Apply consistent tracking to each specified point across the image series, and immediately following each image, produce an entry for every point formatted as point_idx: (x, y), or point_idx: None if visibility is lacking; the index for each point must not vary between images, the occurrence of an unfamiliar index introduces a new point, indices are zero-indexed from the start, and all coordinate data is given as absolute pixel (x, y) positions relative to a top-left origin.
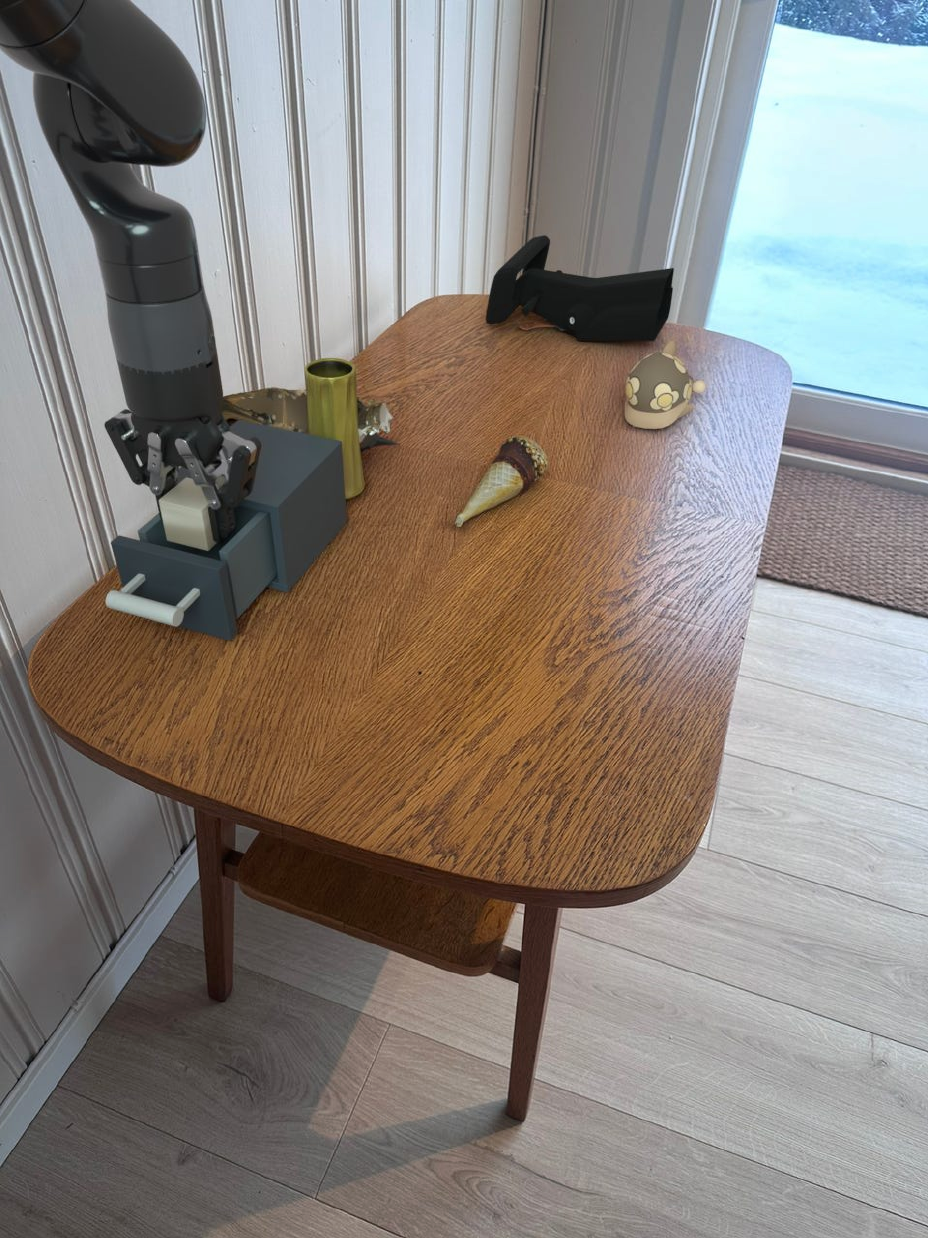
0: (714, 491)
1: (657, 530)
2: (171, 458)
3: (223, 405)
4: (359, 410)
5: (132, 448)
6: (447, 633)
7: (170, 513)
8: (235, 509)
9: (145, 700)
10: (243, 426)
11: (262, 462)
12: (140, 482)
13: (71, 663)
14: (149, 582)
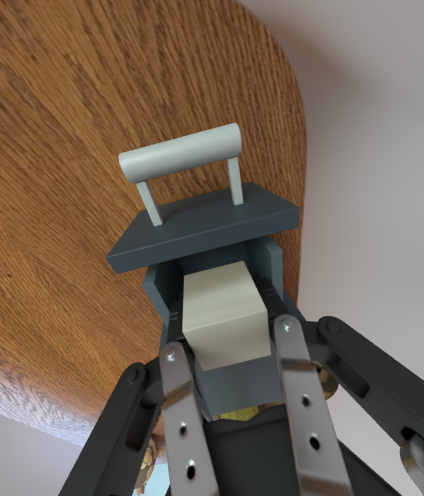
0: (71, 429)
1: (60, 408)
2: (271, 441)
3: (329, 385)
4: None
5: (392, 406)
6: (44, 311)
7: (241, 297)
8: None
9: (139, 89)
10: None
11: (235, 383)
12: (321, 324)
13: (256, 85)
14: (227, 203)
